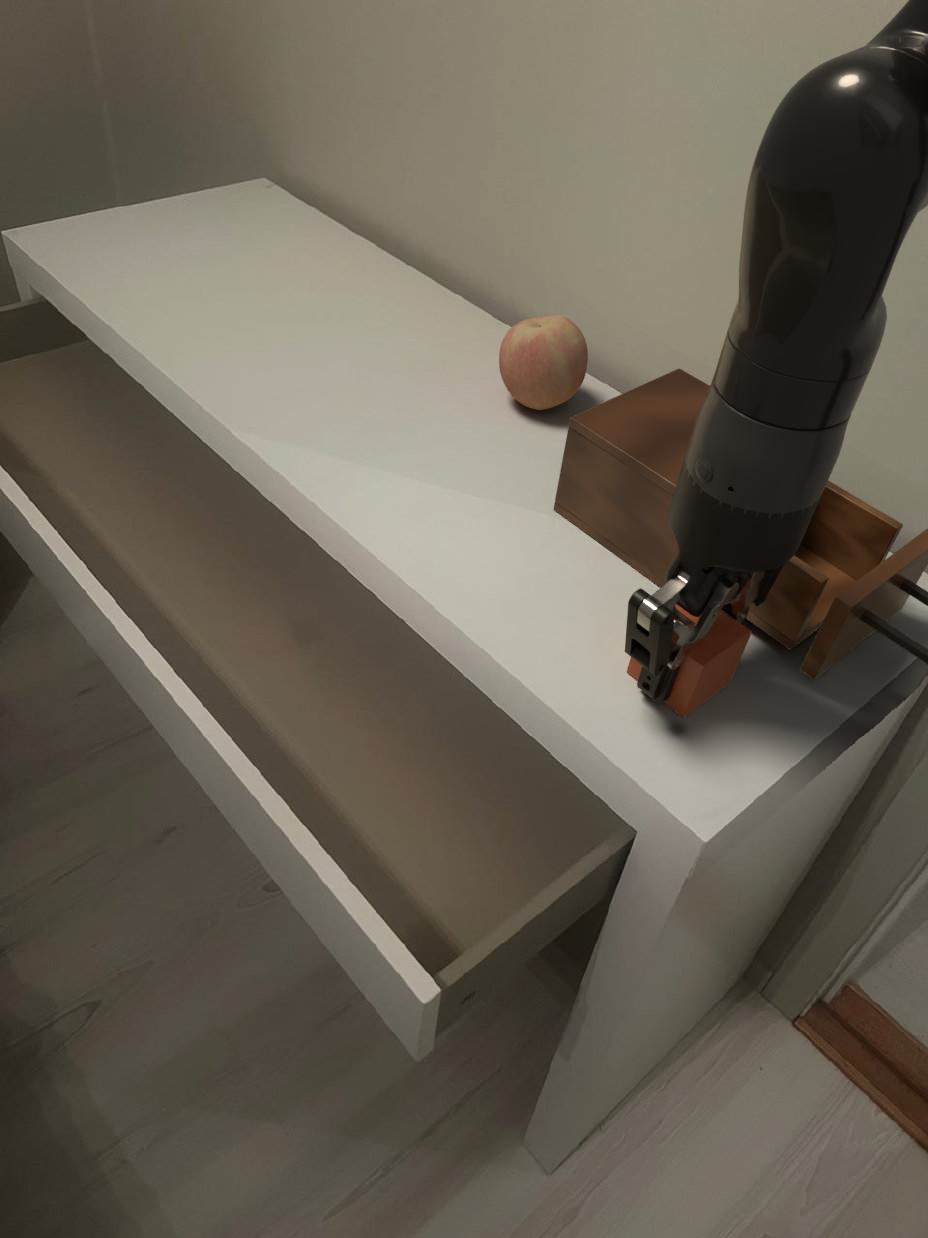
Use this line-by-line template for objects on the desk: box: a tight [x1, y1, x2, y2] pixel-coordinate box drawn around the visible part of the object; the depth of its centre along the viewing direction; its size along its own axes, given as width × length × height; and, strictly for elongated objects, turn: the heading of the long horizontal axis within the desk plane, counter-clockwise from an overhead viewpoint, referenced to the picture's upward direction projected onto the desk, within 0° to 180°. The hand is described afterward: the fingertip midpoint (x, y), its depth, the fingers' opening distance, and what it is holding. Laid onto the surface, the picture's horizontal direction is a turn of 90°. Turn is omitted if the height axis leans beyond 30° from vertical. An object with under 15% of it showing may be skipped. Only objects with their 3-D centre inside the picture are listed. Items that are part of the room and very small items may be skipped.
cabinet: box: [553, 368, 710, 588], centre depth 71 cm, size 15×13×9 cm
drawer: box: [745, 480, 928, 680], centre depth 64 cm, size 20×11×7 cm, turn 41°
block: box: [626, 604, 753, 718], centre depth 61 cm, size 5×5×5 cm
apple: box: [498, 314, 589, 411], centre depth 83 cm, size 8×8×8 cm
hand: (679, 673), depth 62 cm, fingers closed on block, 5 cm apart
